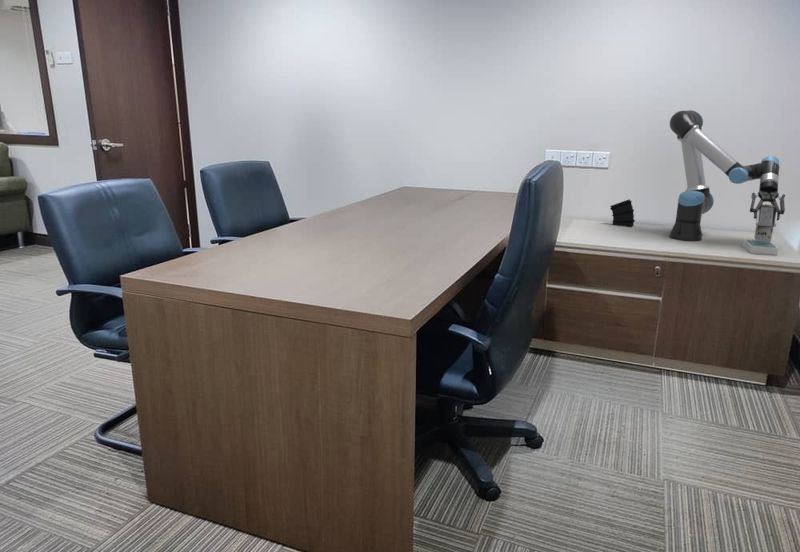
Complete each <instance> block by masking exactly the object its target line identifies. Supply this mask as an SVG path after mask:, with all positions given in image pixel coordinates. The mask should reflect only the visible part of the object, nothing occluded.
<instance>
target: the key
mask: <svg viewBox="0 0 800 552" xmlns="http://www.w3.org/2000/svg"><path fill="white" fill-rule="evenodd" d="M747 242H749V243H750V244H751V245H752V246H759V247H775V248H776V247H777V246H776V245H775V244H773V242H771V243H770V242H766V241H756V240H755V239H747Z"/></svg>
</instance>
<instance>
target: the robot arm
mask: <svg viewBox="0 0 800 552" xmlns="http://www.w3.org/2000/svg"><path fill="white" fill-rule="evenodd" d="M703 125H704V119H703V116H702V115H701V114H700V113H699V111H698V112H697V111H695V110H680V111H677V112H675V113H674V114H673V115H672V116H671V117H670V119H669V128H670V130H671V131H672V132H673V133H674V134H675V135H676V137H677V141H679V142H680V143H681V144H680V145H681V151H682V157H683V165H684V173H685V180H686V189H685V190H684V191H682V192H681V193H680V194H679V195H678V199H677V208H676V217H675V220H674V224H673V226H672V228H671V230H670V232H669V237H670V238H671V239H674V240H680V241H686V242H694V241H695V242H696V241H697V242H699V241H701V240H702V239H703V231H702V226H701V222H702V217H703V216H702V215H704V214H706V213H707V212H709V211H710V210H712V208H713V206H714V201H715V200H714V197H713V195H712V194H711V192H710V186H709V185H707V184H706V177H705V171H704V161H703V157H705V158H707V160H709V161H710V162H711V163H712V164H713V165H714V166H715V167H717V168H718V169H719V170H720V171H721V172H723V173H724V174H725V175H726V176H727V177H728V179H729V181H730V183H733V184H735V185H736V184H738V185H740V184H743V183H746V182H749V181H754V180H759V190H758V192H752V193H751V195H750V197H751V204H750V208H749V213H753V219H755V227H756V226H758V223H759V208H760V205H761V204H763V205H764V203H767V202H768V203H770V205H774V206H776V207H777V210H776V216H775V221H774V227H773V228H776V226H777V223H778V222H777V221H779V220H780V218H781V215H784V214H785V211H786V208H785V207H786V206H785V198H786V194H784V193H783V194H779V174H780V168H781V167H780V160H779V158H778V157H776V156H773V155H769V156H766V157H763V158H762V159H761V162H758V163H754V164H750V165H748V164H747V165H742V164H741V163H739V161H738V160H737V159H735V158H734V157H733V156H732V155H731V154H729V153H728V152H727V151H726V150H725V149H723V148H722V147H721V146H720V145H719V144H718V143H716V142H715V141H714V140H713V138H711V137H709V136H708V135H707V134H706V133H705V132H704V131H703V130H702V127H703ZM757 197H758V198H759V199H760V200H759V201H758V204H757V205H756V206H755V203H756V198H757ZM776 199H778V200H779V205H778V203H777V200H776ZM754 207H755V208H754ZM779 207H780V208H779Z"/></svg>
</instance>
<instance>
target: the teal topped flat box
mask: <svg viewBox="0 0 800 552" xmlns="http://www.w3.org/2000/svg"><path fill="white" fill-rule="evenodd" d="M747 240H748V239H747ZM747 240H746V239H744V240H743V246H742V247H743V248H744V249H745V250H746V251H747V252H748V253H749V254H751V255H767V256H778V252H779V247H778V246H776V248H775V247H759V246H752V245H751V244H750V243H749V242H747ZM770 243H772V241H771V242H770Z"/></svg>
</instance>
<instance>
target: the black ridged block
mask: <svg viewBox="0 0 800 552" xmlns="http://www.w3.org/2000/svg"><path fill="white" fill-rule="evenodd" d="M632 203H633V201H632V200H631V199H630V198H629V199H627V200H623V201H621V202H618V203H615V204H612V205H610V210H611V212H612V215H611V216H612V221H611V222H612V225H614V226H621V227H630V228H632V227H634V223H635V219H634V218H635V214H634V212H635V209H634V208H633V204H632Z"/></svg>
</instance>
